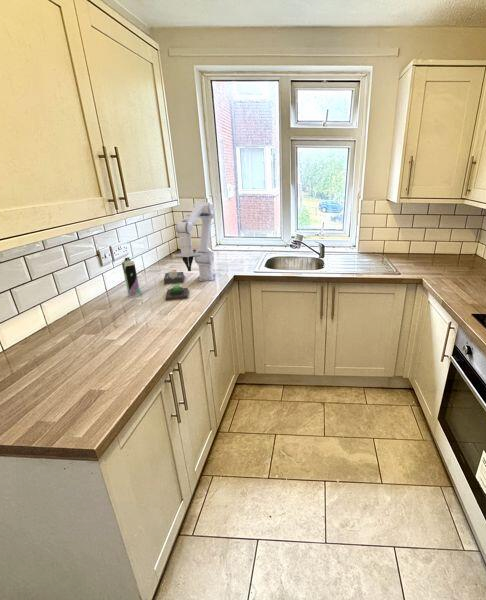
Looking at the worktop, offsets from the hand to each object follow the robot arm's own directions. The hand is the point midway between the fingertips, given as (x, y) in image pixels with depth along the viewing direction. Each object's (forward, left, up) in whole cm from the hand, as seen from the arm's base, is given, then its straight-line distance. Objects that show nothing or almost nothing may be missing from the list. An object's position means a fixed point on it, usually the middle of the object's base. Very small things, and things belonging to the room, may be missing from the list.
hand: (189, 270), depth 168 cm
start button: (+8, -7, -7) cm, 13 cm away
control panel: (-18, -10, -10) cm, 23 cm away
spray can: (+2, -28, -11) cm, 30 cm away
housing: (+8, -7, -10) cm, 15 cm away
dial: (-15, -10, -7) cm, 19 cm away
